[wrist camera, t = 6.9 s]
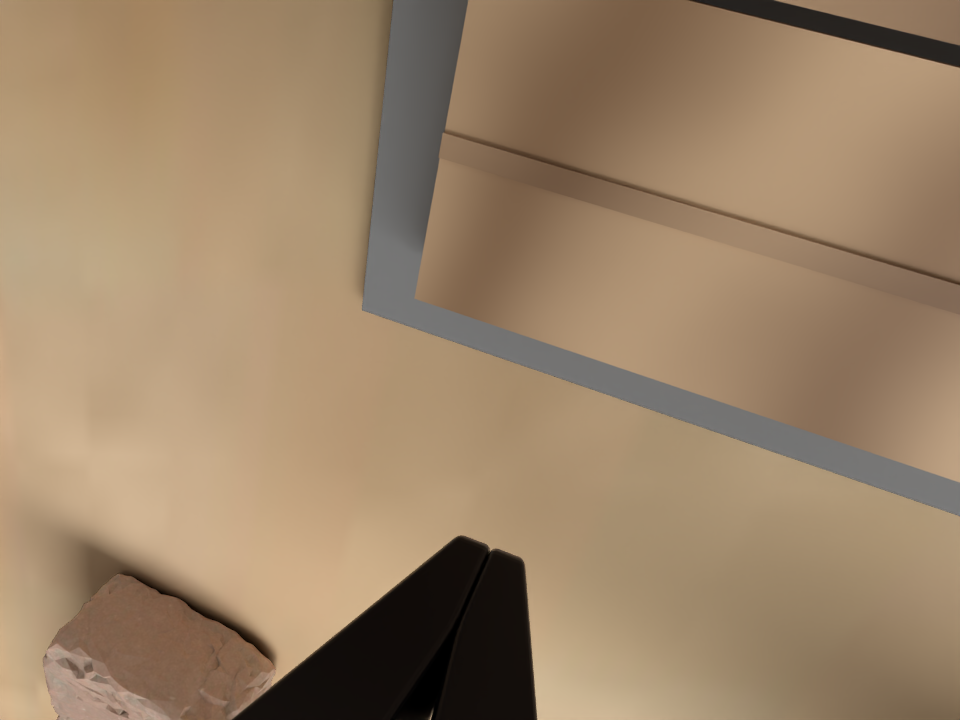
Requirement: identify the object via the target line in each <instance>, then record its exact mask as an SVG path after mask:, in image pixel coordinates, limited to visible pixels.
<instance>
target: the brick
mask: <svg viewBox="0 0 960 720" xmlns="http://www.w3.org/2000/svg"><path fill="white" fill-rule="evenodd" d="M43 666H44V672H45V677H46V683H47V687H48V692H49V694H50V697H51V705H53V706H54V707H53V708H54V710H55V712H56V713H57V714H58V715H59V716H58V718H57V720H231V719H232V718H234V717H235V716H236V715H237V714H238V713H240V712H241V711H242V710H243V709H245V708H246V707H247V706H248V705H250V704H251V703H252V702H253V701H254V700H256V699H257V698H258V697H259V696H261V695H262V694H263V693H264V692H266V691H267V690H268V689H269V688H270V687H271V680H272V679H273V677H274V675H275V670H276V669H275V667H274V666H273V664H272V663H271V661H270V660H269V659H267V658H266V657H265V656H263V655H262V654H261V653H260V652H259V651H258V650H257V649H256V648H255V647H254V645H253V644H250V643H248V642H245V641H244V640H243V638H242V637H241V636H240V635H239V634H238V633H237V632H235V631H233V630H231V629H229V628H227V627H225V626H224V625H222V624H221V623H219V622H217V621H214V620H210V619H207V618H206V617H204V616H202V615H201V614H199V613H197V612H195V611H193V610H192V609H190V607H189V606H188V605H187V604H186V603H185V602H184V601H182V600H180V599H178V598H176V597H173V596H169V595H162V594H160V593H159V592H158V591H157V590H156V589H153V588H150V587H148V586H146V585H145V584H143V583H141V582H140V581H138V580H136V579H135V578H134V577H132V576H126V575H122V574H119V573H118V574H117V575H115V576H114V577H112V578H111V579H110V580H109V581H108V582H107V583H106V584H104V585H103V586H102V587H101V588H100V589H99V590H98V592H97V593H96V594H95V595H93V596H92V597H91V598H90V602H87V603H84V605H83V607H82V609H81V611H80V612H79V613H78V614H77V615H76V616H75V617H74V618H73V619H72V620H71V621H70V622H69V623H67V624H66V625H65V626H63V627H62V628H61V629H60V630H59V631H58V633H57V635H56V636H55V638H54V639H53V641H52V643H51V644H50V646H49V648H48V649H47V651H46V654H45V656H44V658H43Z"/></svg>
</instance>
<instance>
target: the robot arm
mask: <svg viewBox="0 0 960 720" xmlns="http://www.w3.org/2000/svg"><path fill="white" fill-rule="evenodd" d="M432 713H433V714H432ZM431 716H432V717H431ZM430 718H431V720H537V710H536V697H535V685H534V672H533V659H532V647H531V634H530V621H529V609H528V596H527V583H526V571H525V564H524V561H523V560H522V558H520V557H518V556H515V555H513V554H510V553H507V552H505V551H502V550H500V549H493V550H492V551H491V552H490V548H489V547H488V545H486V544H484V543H482V542H479V541H476V540H474V539H471V538H469V537H466V536H458V537H456V538H454V539H453V540H452V541H450V542H449V543H448V544H447V545H445V546H444V547H443V548H442V549H441V550H439V551H438V552H437V553H436V554H434V555H433V556H432V557H431V558H429V559H428V560H427V561H426V562H424V563H423V564H422V565H421V566H420V567H418V568H417V569H416V570H415V571H413V572H412V573H411V574H410V575H408V576H407V577H406V578H405V579H404V580H402V581H401V582H400V583H399V584H397V585H396V586H395V587H394V588H392V589H391V590H390V591H389V592H388V593H386V594H385V595H384V596H383V597H381V598H380V599H379V600H378V601H376V602H375V603H374V604H373V605H372V606H370V607H369V608H368V609H367V610H365V611H364V612H363V613H362V614H360V615H359V616H358V617H357V618H355V619H354V620H353V621H352V622H351V623H349V624H348V625H347V626H346V627H344V628H343V629H342V630H341V631H339V632H338V633H337V634H336V635H335V636H333V637H332V638H331V639H330V640H328V641H327V642H326V643H325V644H323V645H322V646H321V647H320V648H319V649H317V650H316V651H315V652H314V653H312V654H311V655H310V656H309V657H307V658H306V659H305V660H304V661H303V662H301V663H300V664H299V665H298V666H296V667H295V668H294V669H293V670H291V671H290V672H289V673H288V674H287V675H285V676H284V677H283V678H282V679H280V680H279V681H278V682H277V683H275V684H274V685H273V686H272V687H270V688H269V689H268V690H267V691H266V692H264V693H263V694H262V695H261V696H259V697H258V698H257V699H256V700H254V701H253V702H252V703H251V704H250V705H248V706H247V707H246V708H245V709H243V710H242V711H241V712H240V713H238V714H237V715H236V716H235V717H234V718H232V719H231V720H430Z"/></svg>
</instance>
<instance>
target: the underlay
mask: <svg viewBox="0 0 960 720" xmlns="http://www.w3.org/2000/svg"><path fill="white" fill-rule="evenodd" d="M695 1H699V2H703V3H707V4H711V5H715V6H719V7H723V8H727V9H731V10H735V11H739V12H743V13H747V14H751V15H755V16H759V17H763V18H767V19H771V20H775V21H779V22H784V23H788V24H792V25H796V26H800V27H804V28H808V29H812V30H816V31H820V32H824V33H828V34H832V35H836V36H840V37H844V38H848V39H852V40H856V41H860V42H864V43H868V44H872V45H876V46H880V47H884V48H888V49H892V50H896V51H900V52H904V53H908V54H912V55H916V56H920V57H924V58H929V59H933V60H937V61H941V62H945V63H949V64H953V65H957V66H960V45H956V44H952V43H947V42H943V41H939V40H935V39H931V38H927V37H923V36H919V35H915V34H911V33H906V32H902V31H898V30H894V29H890V28H886V27H882V26H878V25H874V24H870V23H865V22H861V21H857V20H853V19H849V18H845V17H841V16H837V15H833V14H829V13H824V12H820V11H816V10H812V9H808V8H804V7H800V6H796V5H792V4H788V3H783V2H779V1H775V0H695ZM467 5H468V0H393V9H392V19H391V29H390V39H389V49H388V59H387V69H386V78H385V88H384V98H383V108H382V118H381V128H380V137H379V147H378V157H377V167H376V177H375V187H374V197H373V206H372V216H371V226H370V236H369V246H368V256H367V266H366V275H365V285H364V295H363V305H362V310H363V311H366V312H369V313H372V314H374V315H377V316H380V317H383V318H386V319H389V320H392V321H395V322H398V323H401V324H403V325H406V326H409V327H412V328H415V329H418V330H421V331H424V332H427V333H430V334H433V335H435V336H438V337H441V338H444V339H447V340H450V341H453V342H456V343H459V344H462V345H464V346H467V347H470V348H473V349H476V350H479V351H482V352H485V353H488V354H491V355H493V356H496V357H499V358H502V359H505V360H508V361H511V362H514V363H517V364H520V365H523V366H525V367H528V368H531V369H534V370H537V371H540V372H543V373H546V374H549V375H552V376H554V377H557V378H560V379H563V380H566V381H569V382H572V383H575V384H578V385H581V386H583V387H586V388H589V389H592V390H595V391H598V392H601V393H604V394H607V395H610V396H613V397H615V398H618V399H621V400H624V401H627V402H630V403H633V404H636V405H639V406H642V407H644V408H647V409H650V410H653V411H656V412H659V413H662V414H665V415H668V416H671V417H674V418H676V419H679V420H682V421H685V422H688V423H691V424H694V425H697V426H700V427H703V428H705V429H708V430H711V431H714V432H717V433H720V434H723V435H726V436H729V437H732V438H734V439H737V440H740V441H743V442H746V443H749V444H752V445H755V446H758V447H761V448H764V449H766V450H769V451H772V452H775V453H778V454H781V455H784V456H787V457H790V458H793V459H795V460H798V461H801V462H804V463H807V464H810V465H813V466H816V467H819V468H822V469H824V470H827V471H830V472H833V473H836V474H839V475H842V476H845V477H848V478H851V479H854V480H856V481H859V482H862V483H865V484H868V485H871V486H874V487H877V488H880V489H883V490H885V491H888V492H891V493H894V494H897V495H900V496H903V497H906V498H909V499H912V500H914V501H917V502H920V503H923V504H926V505H929V506H932V507H935V508H938V509H941V510H944V511H946V512H949V513H952V514H955V515H958V516H960V482H957V481H954V480H951V479H948V478H945V477H942V476H939V475H936V474H933V473H930V472H927V471H924V470H921V469H918V468H915V467H912V466H909V465H906V464H903V463H900V462H897V461H894V460H891V459H888V458H885V457H883V456H880V455H877V454H874V453H871V452H868V451H865V450H862V449H859V448H856V447H853V446H850V445H847V444H844V443H841V442H838V441H835V440H832V439H829V438H826V437H823V436H820V435H817V434H814V433H811V432H808V431H805V430H802V429H800V428H797V427H794V426H791V425H788V424H785V423H782V422H779V421H776V420H773V419H770V418H767V417H764V416H761V415H758V414H755V413H752V412H749V411H746V410H743V409H740V408H737V407H734V406H731V405H728V404H725V403H722V402H719V401H716V400H714V399H711V398H708V397H705V396H702V395H699V394H696V393H693V392H690V391H687V390H684V389H681V388H678V387H675V386H672V385H669V384H666V383H663V382H660V381H657V380H654V379H651V378H648V377H645V376H642V375H639V374H636V373H633V372H631V371H628V370H625V369H622V368H619V367H616V366H613V365H610V364H607V363H604V362H601V361H598V360H595V359H592V358H589V357H586V356H583V355H580V354H577V353H574V352H571V351H568V350H565V349H562V348H559V347H556V346H553V345H550V344H547V343H545V342H542V341H539V340H536V339H533V338H530V337H527V336H524V335H521V334H518V333H515V332H512V331H509V330H506V329H503V328H500V327H497V326H494V325H491V324H488V323H485V322H482V321H479V320H476V319H473V318H470V317H467V316H464V315H461V314H459V313H456V312H453V311H450V310H447V309H444V308H441V307H438V306H435V305H432V304H429V303H426V302H423V301H420V300H417V299H414V298H415V292H416V287H417V281H418V276H419V270H420V265H421V259H422V254H423V248H424V243H425V237H426V232H427V226H428V221H429V215H430V210H431V204H432V199H433V193H434V188H435V182H436V177H437V171H438V165H439V160H440V158H438V157H439V151H440V146H441V140H442V135H443V133H444V132H445V127H446V121H447V116H448V110H449V105H450V99H451V94H452V88H453V83H454V77H455V72H456V66H457V61H458V55H459V50H460V44H461V39H462V33H463V28H464V22H465V16H466V11H467Z"/></svg>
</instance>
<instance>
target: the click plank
mask: <svg viewBox="0 0 960 720" xmlns="http://www.w3.org/2000/svg"><path fill="white" fill-rule="evenodd" d="M438 158H440V160H439V165H438V171H437V177H436V182H435V188H434V193H433V199H432V204H431V210H430V215H429V221H428V226H427V232H426V237H425V243H424V248H423V254H422V259H421V265H420V270H419V276H418V281H417V287H416V292H415V298H414V299H417V300H420V301H423V302H426V303H429V304H432V305H435V306H438V307H441V308H444V309H447V310H450V311H453V312H456V313H459V314H461V315H464V316H467V317H470V318H473V319H476V320H479V321H482V322H485V323H488V324H491V325H494V326H497V327H500V328H503V329H506V330H509V331H512V332H515V333H518V334H521V335H524V336H527V337H530V338H533V339H536V340H539V341H542V342H545V343H547V344H550V345H553V346H556V347H559V348H562V349H565V350H568V351H571V352H574V353H577V354H580V355H583V356H586V357H589V358H592V359H595V360H598V361H601V362H604V363H607V364H610V365H613V366H616V367H619V368H622V369H625V370H628V371H631V372H633V373H636V374H639V375H642V376H645V377H648V378H651V379H654V380H657V381H660V382H663V383H666V384H669V385H672V386H675V387H678V388H681V389H684V390H687V391H690V392H693V393H696V394H699V395H702V396H705V397H708V398H711V399H714V400H716V401H719V402H722V403H725V404H728V405H731V406H734V407H737V408H740V409H743V410H746V411H749V412H752V413H755V414H758V415H761V416H764V417H767V418H770V419H773V420H776V421H779V422H782V423H785V424H788V425H791V426H794V427H797V428H800V429H802V430H805V431H808V432H811V433H814V434H817V435H820V436H823V437H826V438H829V439H832V440H835V441H838V442H841V443H844V444H847V445H850V446H853V447H856V448H859V449H862V450H865V451H868V452H871V453H874V454H877V455H880V456H883V457H885V458H888V459H891V460H894V461H897V462H900V463H903V464H906V465H909V466H912V467H915V468H918V469H921V470H924V471H927V472H930V473H933V474H936V475H939V476H942V477H945V478H948V479H951V480H954V481H957V482H960V66H957V65H953V64H949V63H945V62H941V61H937V60H933V59H929V58H924V57H920V56H916V55H912V54H908V53H904V52H900V51H896V50H892V49H888V48H884V47H880V46H876V45H872V44H868V43H864V42H860V41H856V40H852V39H848V38H844V37H840V36H836V35H832V34H828V33H824V32H820V31H816V30H812V29H808V28H804V27H800V26H796V25H792V24H788V23H784V22H779V21H775V20H771V19H767V18H763V17H759V16H755V15H751V14H747V13H743V12H739V11H735V10H731V9H727V8H723V7H719V6H715V5H711V4H707V3H703V2H699V1H695V0H468V5H467V11H466V16H465V22H464V28H463V33H462V39H461V44H460V50H459V55H458V61H457V66H456V72H455V77H454V83H453V88H452V94H451V99H450V105H449V110H448V116H447V121H446V127H445V132H444V133H443V135H442V140H441V146H440V151H439V157H438Z"/></svg>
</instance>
